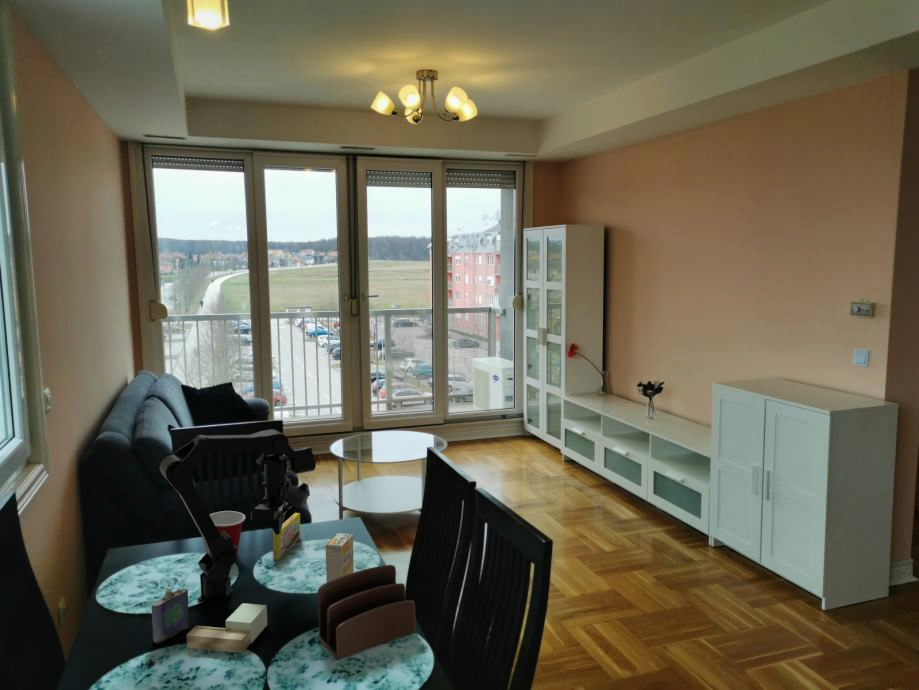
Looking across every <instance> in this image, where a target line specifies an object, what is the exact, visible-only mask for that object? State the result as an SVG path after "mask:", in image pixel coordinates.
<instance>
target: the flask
mask: <svg viewBox="0 0 919 690" xmlns="http://www.w3.org/2000/svg"><path fill="white" fill-rule="evenodd" d="M164 591H165V594H164V596H162V597H161V598H159V599H157V600H155V601H154V602H152V604H151V605H150V606H151V620H152V621H151V624H152V640H153V641H152V642H153V643H154V644H155V643H156V644H159V643H162V642H164V641H167V639H168V640H169V638H172V637H173V636H175V635H176V634H177V633H180V632H182V631H184V630H185V629H188V628H189V626H190V623H189V621H190V619H189V617H190V616H189V611H190V610H189V596H188V595H189V590H188V589H186V588H180V589H179V588H178V589H176V590H175V591H173V590H171V588H169V587H166V588H165V589H164Z"/></svg>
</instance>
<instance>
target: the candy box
mask: <svg viewBox="0 0 919 690" xmlns="http://www.w3.org/2000/svg"><path fill="white" fill-rule="evenodd" d="M272 536H273V537H272V540H273V541H272V552H273V553H272V556H273V557H272V560H274V559H279V560H280V559H281V558H282V557H283V556H284V555H285V554H286V553H287V552H288V551H289V550H290V549H291V548H290V547H291V546H292V545H293V544H294V545H295V544H296V543H297V542H298V540H299V539H300V538H301V513H300V512H299V513H298V512H294V513H293V514H292V515H291V516H290V517H289V518H287V520H285V521H283V525H282V529H281V533H280V534H279V535H277V534H275V533H274V531H273V534H272ZM294 545H293V546H294ZM293 546H292V547H293ZM289 548H290V549H289ZM288 549H289V550H288ZM287 550H288V551H287ZM286 551H287V552H286ZM285 552H286V553H285ZM284 553H285V554H284ZM283 554H284V555H283ZM282 555H283V556H282ZM281 556H282V557H281ZM280 557H281V558H280Z"/></svg>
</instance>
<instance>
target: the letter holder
mask: <svg viewBox="0 0 919 690" xmlns="http://www.w3.org/2000/svg"><path fill="white" fill-rule="evenodd" d="M396 577H397V569H396V566H395V565H393V564H386V565H379V566H374V567H370V568H365V569H361V570H359V571H354V573H352V574H349V575H346V576H343V577H340V578H338V579H335V580H332V581H330V582H328V583H327V582H325V583H323V584H322V585H320V586H319V587H318V590H317V604H318V606H317V608H318V640H319V642H320V643H321V642H322V643H321V644H322V645H323V646H324V647H325V649H326V650H327V651H328V652H329V651H330V652H329V653H330V654H331V655H332V656H333V657H334V659H336V660H337V661H339V660H342V659H345V658H347V657H351V656H353V655H355V654H358V653H362V652H364V651H367V650H370V649H372V648H375V647H377V646H380V645H383V644H386V643H388V642H392V641H394V640H397V639H400V638H403V637H405V636H407V635H410V634H413V633H416V632H417V631H416V630H417V628H416V604H415V601H414V600H411V599H409V600H406V586H405V583H402V582H401V583H399V582H398V583H397V582H396V581H397V578H396Z"/></svg>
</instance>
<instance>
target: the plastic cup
mask: <svg viewBox="0 0 919 690" xmlns="http://www.w3.org/2000/svg"><path fill="white" fill-rule="evenodd" d="M209 515H210V517H211V519H212V520H213V522H214V524H215V526H216V528H217V530H218V532H219V533H221V532H222V531H223V530H224V531H225V532H226V533H227V534H228V535H229V536H230V537H231V539H232V542H233V545H234V546H235V547H236V548H237V549H238V550H237V551H235V552H236V555H237V556H238V552H239V544H240V540H241V533H242V527H243V523H244V522H245V520H246V515H245V514H243V513H242V512H239V511H236V510H235V511H233V510H224V511H217V512H213V513H210V514H209Z"/></svg>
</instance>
